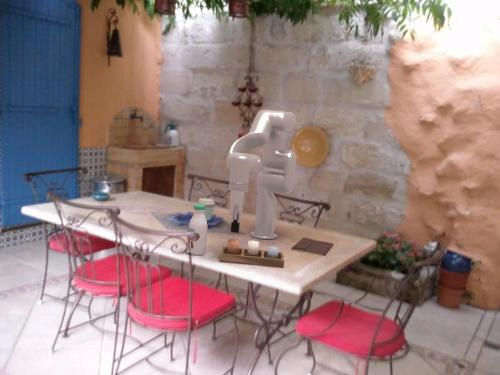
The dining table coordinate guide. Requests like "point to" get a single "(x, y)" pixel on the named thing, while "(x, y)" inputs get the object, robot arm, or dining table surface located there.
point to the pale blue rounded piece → (273, 252)
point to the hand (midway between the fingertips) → (234, 231)
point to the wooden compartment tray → (251, 258)
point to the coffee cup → (207, 207)
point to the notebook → (312, 246)
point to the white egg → (253, 247)
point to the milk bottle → (198, 230)
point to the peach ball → (233, 245)
